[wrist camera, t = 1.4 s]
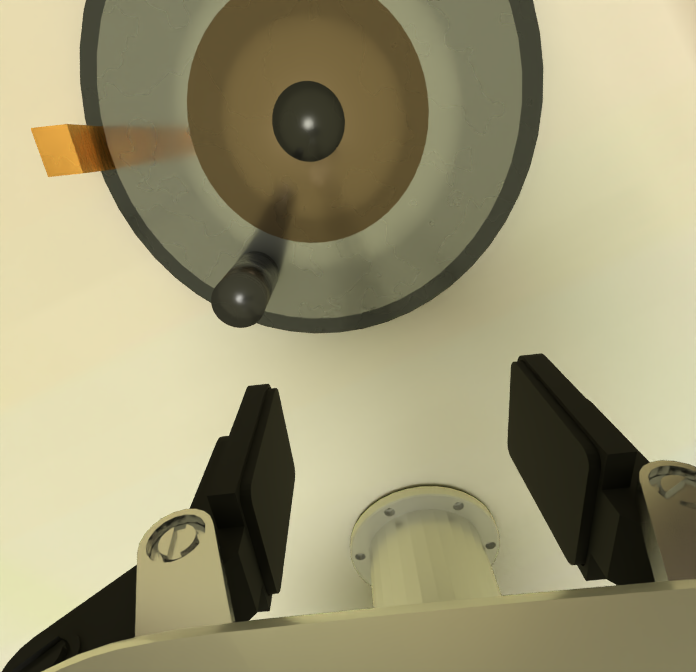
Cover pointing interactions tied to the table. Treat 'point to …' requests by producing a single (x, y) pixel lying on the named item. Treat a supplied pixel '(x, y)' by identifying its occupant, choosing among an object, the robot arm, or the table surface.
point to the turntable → (310, 141)
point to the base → (93, 155)
